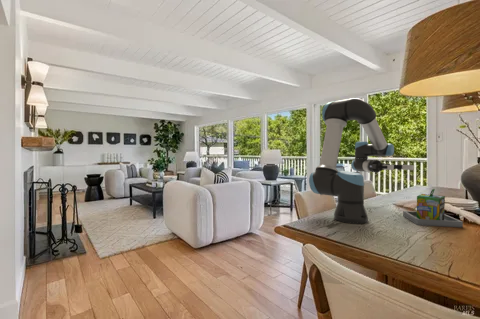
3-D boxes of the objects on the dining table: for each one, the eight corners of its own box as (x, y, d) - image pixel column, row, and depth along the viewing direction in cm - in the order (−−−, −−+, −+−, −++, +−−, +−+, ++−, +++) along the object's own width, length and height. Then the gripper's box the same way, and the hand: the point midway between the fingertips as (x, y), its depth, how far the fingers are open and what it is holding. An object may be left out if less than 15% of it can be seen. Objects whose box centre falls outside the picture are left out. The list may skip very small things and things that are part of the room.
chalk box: (421, 216, 124) (422, 186, 124) (444, 220, 117) (445, 188, 117) (415, 219, 118) (415, 188, 118) (439, 223, 111) (440, 190, 111)
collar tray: (417, 225, 111) (417, 219, 111) (402, 215, 128) (402, 210, 128) (462, 227, 107) (462, 221, 107) (441, 217, 124) (441, 212, 124)
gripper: (388, 172, 156) (421, 174, 136) (355, 172, 150) (384, 174, 129) (388, 160, 156) (421, 160, 136) (355, 159, 150) (384, 160, 129)
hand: (403, 167), depth 133 cm, fingers open, 13 cm apart
